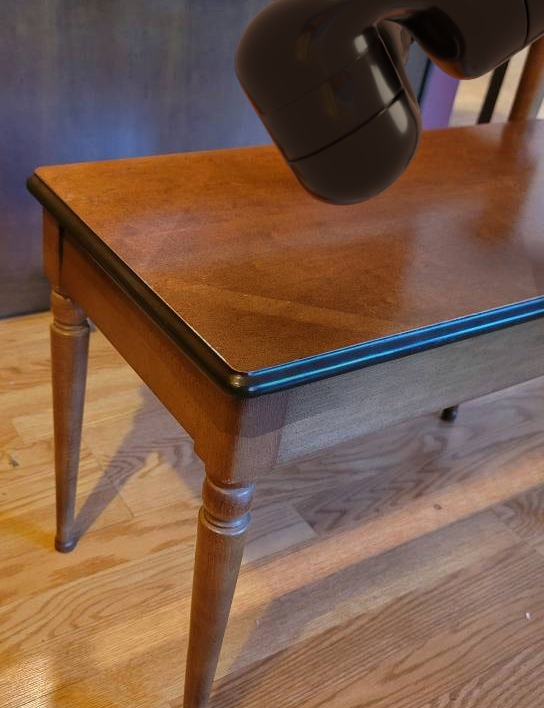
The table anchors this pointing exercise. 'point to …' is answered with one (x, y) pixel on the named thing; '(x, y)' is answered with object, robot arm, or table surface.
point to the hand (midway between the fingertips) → (369, 2)
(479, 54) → the robot arm
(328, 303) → the table surface
